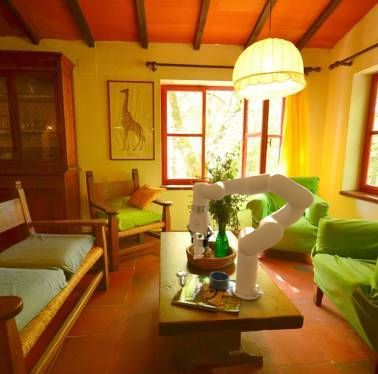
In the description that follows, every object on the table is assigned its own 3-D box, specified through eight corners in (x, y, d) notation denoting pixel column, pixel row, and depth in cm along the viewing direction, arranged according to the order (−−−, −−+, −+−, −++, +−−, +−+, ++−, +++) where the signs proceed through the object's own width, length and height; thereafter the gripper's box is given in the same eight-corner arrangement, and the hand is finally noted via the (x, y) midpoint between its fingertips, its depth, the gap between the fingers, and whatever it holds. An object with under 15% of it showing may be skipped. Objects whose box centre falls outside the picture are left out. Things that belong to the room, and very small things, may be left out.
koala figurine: (193, 260, 119) (193, 235, 118) (187, 256, 125) (187, 232, 124) (209, 258, 122) (209, 233, 122) (202, 254, 128) (202, 231, 128)
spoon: (187, 285, 126) (187, 283, 126) (179, 285, 125) (179, 284, 125) (185, 272, 139) (185, 271, 139) (177, 272, 139) (177, 271, 139)
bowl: (232, 285, 127) (233, 275, 126) (222, 293, 120) (222, 283, 119) (216, 278, 133) (216, 269, 133) (205, 285, 126) (205, 276, 125)
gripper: (181, 206, 122) (180, 242, 125) (211, 212, 112) (210, 251, 114) (190, 204, 128) (189, 238, 131) (220, 210, 118) (218, 247, 120)
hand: (199, 244), depth 122 cm, fingers closed on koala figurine, 6 cm apart
